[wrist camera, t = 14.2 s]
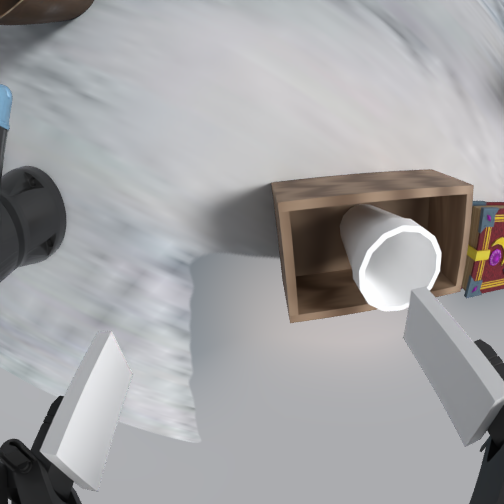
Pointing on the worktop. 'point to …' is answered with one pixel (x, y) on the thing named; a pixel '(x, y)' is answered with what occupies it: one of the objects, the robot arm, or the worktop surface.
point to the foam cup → (388, 256)
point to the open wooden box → (330, 243)
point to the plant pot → (40, 11)
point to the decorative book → (485, 249)
